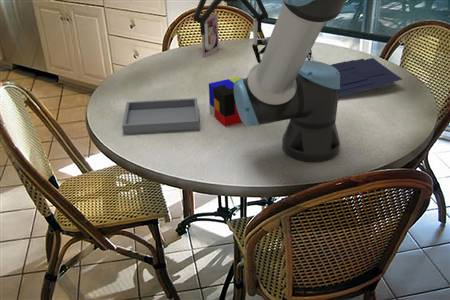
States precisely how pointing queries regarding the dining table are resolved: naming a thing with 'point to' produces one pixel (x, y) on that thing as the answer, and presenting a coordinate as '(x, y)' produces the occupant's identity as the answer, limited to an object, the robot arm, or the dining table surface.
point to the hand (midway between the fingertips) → (231, 44)
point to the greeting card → (211, 35)
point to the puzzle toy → (224, 102)
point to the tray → (161, 116)
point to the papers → (363, 75)
